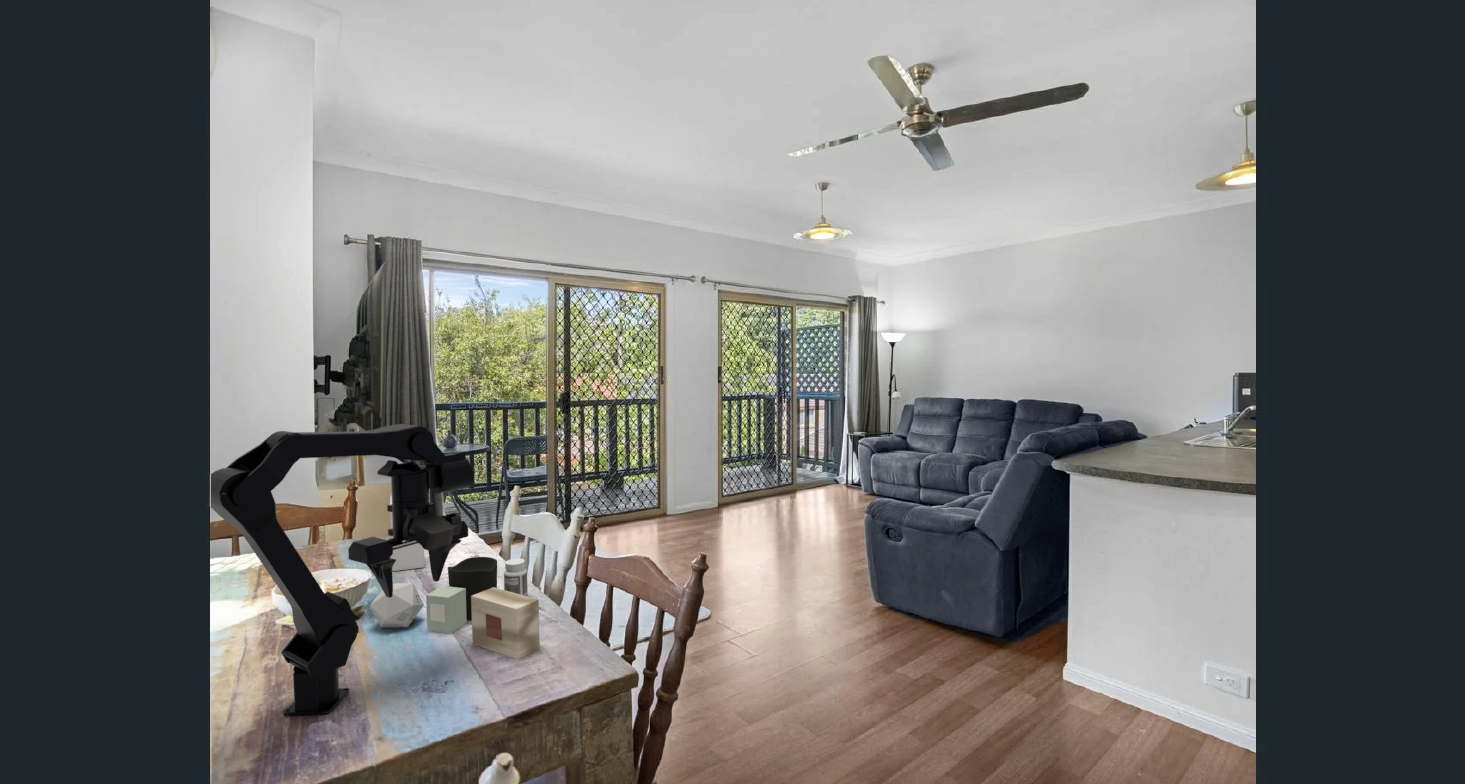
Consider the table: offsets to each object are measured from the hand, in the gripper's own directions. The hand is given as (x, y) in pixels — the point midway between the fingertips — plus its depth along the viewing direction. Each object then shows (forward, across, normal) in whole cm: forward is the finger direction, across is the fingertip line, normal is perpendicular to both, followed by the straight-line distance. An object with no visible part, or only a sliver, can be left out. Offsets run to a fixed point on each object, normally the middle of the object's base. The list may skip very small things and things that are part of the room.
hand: (413, 588), depth 112 cm
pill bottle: (+13, +29, +7) cm, 32 cm away
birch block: (+13, +12, -8) cm, 20 cm away
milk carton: (+13, +31, +48) cm, 58 cm away
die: (+13, +8, +18) cm, 23 cm away
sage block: (+13, +12, +8) cm, 20 cm away
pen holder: (+13, +20, +10) cm, 26 cm away
